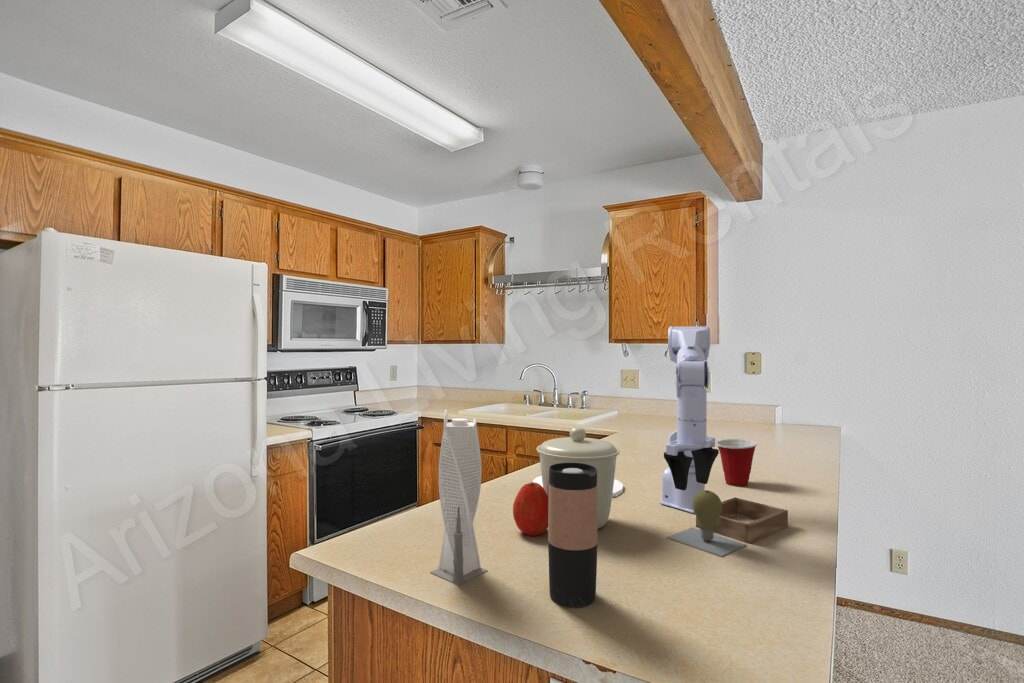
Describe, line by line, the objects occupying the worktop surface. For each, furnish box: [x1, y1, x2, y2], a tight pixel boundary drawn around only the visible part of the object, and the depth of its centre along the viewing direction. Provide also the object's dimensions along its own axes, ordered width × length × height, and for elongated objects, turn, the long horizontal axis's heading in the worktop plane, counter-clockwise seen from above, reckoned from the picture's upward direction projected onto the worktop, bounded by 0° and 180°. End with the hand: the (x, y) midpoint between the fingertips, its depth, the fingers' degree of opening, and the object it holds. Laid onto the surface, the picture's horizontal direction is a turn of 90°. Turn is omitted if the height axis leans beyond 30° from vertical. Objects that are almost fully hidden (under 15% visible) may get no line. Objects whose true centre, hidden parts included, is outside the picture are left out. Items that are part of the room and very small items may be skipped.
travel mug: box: [547, 463, 599, 609], centre depth 81 cm, size 8×8×20 cm
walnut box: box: [695, 497, 789, 545], centre depth 112 cm, size 12×16×4 cm
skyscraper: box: [429, 408, 489, 586], centre depth 90 cm, size 8×8×28 cm
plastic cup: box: [715, 438, 758, 487], centre depth 147 cm, size 11×11×12 cm
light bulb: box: [692, 489, 723, 542], centre depth 103 cm, size 6×6×10 cm
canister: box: [536, 426, 621, 530], centre depth 114 cm, size 18×18×21 cm
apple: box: [512, 481, 549, 537], centre depth 109 cm, size 8×8×11 cm
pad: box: [666, 527, 747, 558], centre depth 104 cm, size 12×9×1 cm
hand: (691, 486), depth 106 cm, fingers open, 7 cm apart
